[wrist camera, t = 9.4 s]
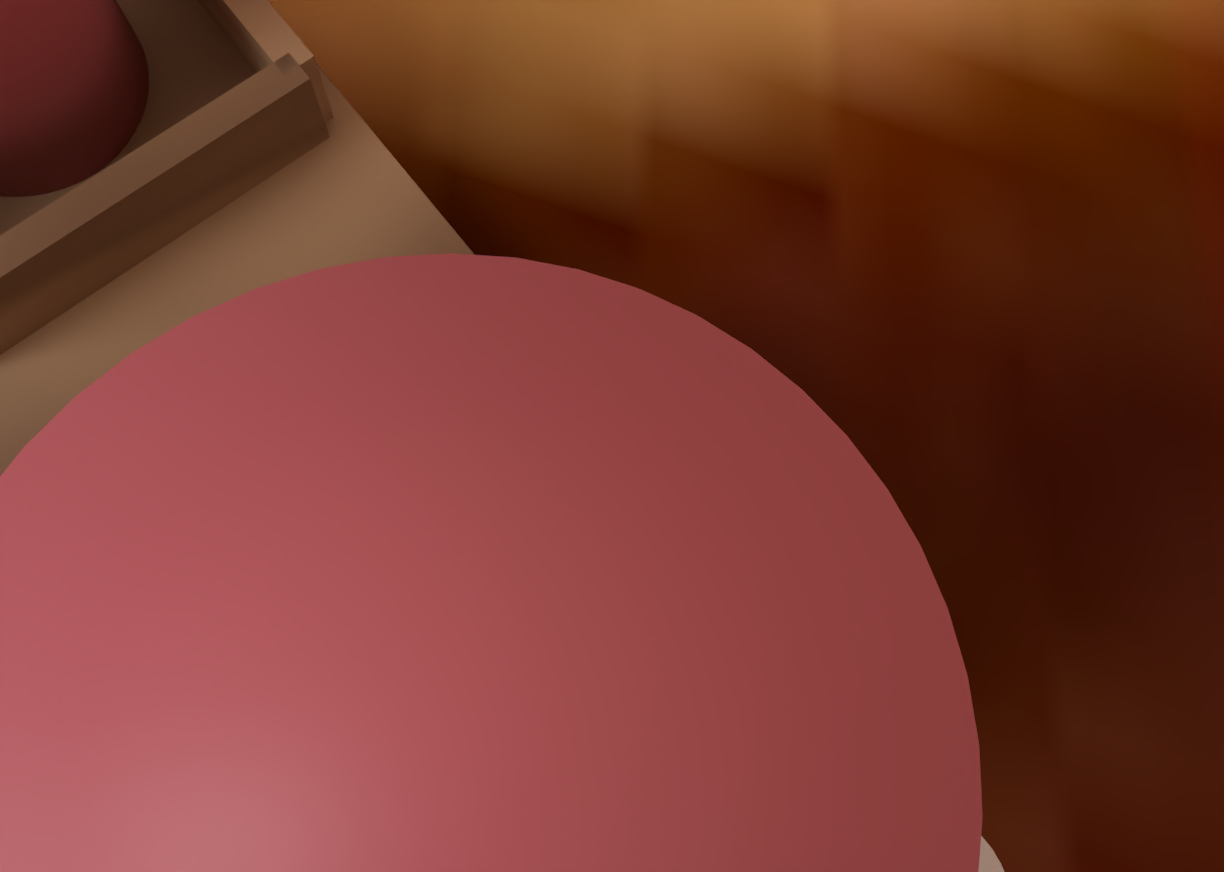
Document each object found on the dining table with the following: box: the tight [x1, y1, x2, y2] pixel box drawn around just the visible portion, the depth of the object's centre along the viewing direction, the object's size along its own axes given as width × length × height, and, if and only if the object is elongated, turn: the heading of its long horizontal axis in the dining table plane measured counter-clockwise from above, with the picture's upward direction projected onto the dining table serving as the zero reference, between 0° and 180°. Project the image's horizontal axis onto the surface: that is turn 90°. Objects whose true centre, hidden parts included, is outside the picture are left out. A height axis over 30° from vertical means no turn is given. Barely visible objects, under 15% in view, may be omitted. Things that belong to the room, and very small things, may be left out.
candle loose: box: [0, 253, 983, 872], centre depth 10 cm, size 4×4×12 cm
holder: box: [0, 0, 474, 476], centre depth 18 cm, size 24×9×3 cm, turn 39°
